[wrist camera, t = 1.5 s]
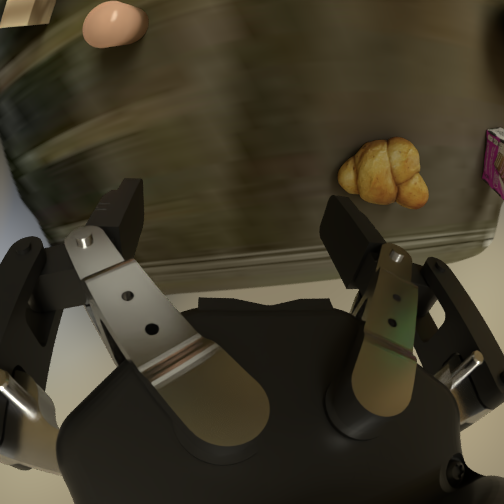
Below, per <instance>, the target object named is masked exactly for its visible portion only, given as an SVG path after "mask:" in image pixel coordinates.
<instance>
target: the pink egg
mask: <svg viewBox="0 0 504 504" xmlns="http://www.w3.org/2000/svg"><path fill="white" fill-rule="evenodd" d="M148 25H149V19H148V16H147V14H146V13H145V11H143V10H142V9H140V8H137V7H134V6H131V5H128V4H125V3H121V2H118V1H108V2H104V3H102V4H100V5H98V6H96V7H95V8H94V9H93V10H92V11H91V12H90V13H89V14H88V15H87V17H86V19H85V21H84V24H83V36H84V38H85V40H86V42H87V43H88V44H90V45H91V46H93V47H96V48H106V47H113V46H121V45H128V44H132V43H134V42H136V41H138V40H139V39H141V38H142V37H143V35H144V34H145V33H146V31H147V29H148Z"/></svg>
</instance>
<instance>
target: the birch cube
mask: <svg viewBox="0 0 504 504" xmlns="http://www.w3.org/2000/svg"><path fill="white" fill-rule="evenodd" d="M55 3H56V0H7V3H6V6H5V10H4V13H3V16H2V20H1V24H0V28H4V27H15V26H29V25H38V24H49V20H50V17H51V14H52V11H53V8H54V6H55Z"/></svg>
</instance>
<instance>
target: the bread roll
mask: <svg viewBox="0 0 504 504" xmlns="http://www.w3.org/2000/svg"><path fill="white" fill-rule="evenodd" d="M419 172H420V164H419V154H418V151H417V150H416V148H415V147H414V146H413V144H412V143H411V142H409V141H408V140H406V139H404V138H402V137H392V138H390V139H389V140H387V141H386V140H374V141H372V142H367V143H365V144H364V145H363V146H362V147H361V148H360V149H359V151H358V152H357V153H356V155H354V156H352V157H351V158H349V159H348V160H347V161H346V162H345V163H344V164H343V165H342V166H341V168H340V170H339V172H338V182H339V184H340V185H341V187H342V188H343V189H345V190H346V191H347V192H348V193H350V194H360V197H361V198H362V199H363V200H365V201H367V202H369V203H374V204H380V205H388V204H390V203H394V202H395V201H396V202H397V203H398V204H400V205H401V206H403V207H406V208H409V209H419V208H421V207H423V206H424V205H425V204H426V202H427V200H428V188H427V186H426V184H425V182H424V181H423V179H422V177H421V176H420V174H419Z"/></svg>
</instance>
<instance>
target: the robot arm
mask: <svg viewBox="0 0 504 504" xmlns="http://www.w3.org/2000/svg"><path fill="white" fill-rule="evenodd" d="M143 222H144V200H143V180H142V179H129V178H125V179H124V180H123V181H122V183H121V185H120V186H119V188H118V190H111V191H109V192H108V193H106V194H105V195H104V196H103V197H102V198H101V200H100V201H99V204H98V205H97V206H96V208H95V210H94V211H93V213H92V215H91V216H90V218H89V220H88V222H87V223H86V225H85V226H83V227H79V228H77V229H75V230H73V231H71V232H70V233H69V234H68V235H67V236H66V238H65V241H64V244H63V245H59V246H53V247H49V248H44V247H43V243H42V241H41V239H40V238H38V237H34V236H31V237H25V238H22V239H20V240H18V241H17V242H16V243H14V244H13V245H12V246H11V247H10V249H9V250H8V252H7V254H6V255H5V257H4V259H3V260H2V262H1V264H0V462H1V463H3V464H6V465H10V466H13V467H15V468H17V469H20V470H30V469H32V468H34V469H37V470H41V471H45V472H48V473H52V474H56V475H60V476H63V478H64V481H65V482H66V485H67V487H68V489H69V491H70V494H71V496H72V498H73V501H74V504H504V478H502V477H498V476H483V475H480V474H478V473H476V472H474V471H472V470H471V469H470V468H468V466H467V465H466V464H465V461H464V458H463V455H462V450H461V441H460V432H461V431H462V430H464V429H466V428H467V427H469V426H470V425H472V424H473V423H475V422H476V421H478V420H479V419H481V418H482V417H484V416H485V415H487V414H488V413H490V412H491V411H492V410H494V409H495V408H496V407H498V406H499V405H500V404H502V403H503V402H504V355H503V353H502V351H501V349H500V347H499V345H498V344H497V342H496V340H495V338H494V336H493V334H492V333H491V331H490V329H489V327H488V326H487V324H486V322H485V321H484V319H483V317H482V316H481V314H480V312H479V311H478V309H477V308H476V306H475V304H474V303H473V301H472V300H471V298H470V297H469V295H468V294H467V292H466V291H465V289H464V288H463V286H462V285H461V284H460V282H459V281H458V279H457V278H456V276H455V275H454V273H453V272H452V271H451V269H450V268H449V267H448V266H447V265H446V264H445V263H444V262H443V261H441V260H439V259H437V258H434V257H429V258H428V259H427V260H426V262H425V264H424V265H423V266H421V265H418V264H415V263H412V258H411V256H410V255H409V254H408V252H406V251H405V250H404V249H403V248H401V247H399V246H397V245H395V244H392V243H386V241H385V240H384V239H383V237H382V236H381V235H380V233H379V232H378V231H377V230H376V229H375V227H374V226H373V224H371V222H370V221H369V219H368V218H367V217H366V216H365V215H364V214H363V213H362V212H360V211H359V210H358V209H357V207H356V206H355V205H354V204H353V202H352V201H351V200H350V199H349V198H348V197H342V196H335V195H332V196H331V197H330V198H329V201H328V203H327V207H326V210H325V213H324V216H323V219H322V222H321V225H320V238H321V240H322V242H323V244H324V245H325V247H326V249H327V251H328V253H329V255H330V257H331V259H332V261H333V263H334V265H335V267H336V269H337V271H338V273H339V275H340V277H341V279H342V281H343V283H344V285H345V287H346V289H359V291H358V293H357V295H356V297H355V300H354V302H353V305H352V308H351V311H350V313H347V312H345V311H342V310H339V309H335V308H333V306H332V304H331V302H330V299H329V298H328V299H298V300H294V301H289V302H285V303H280V304H276V305H262V304H257V303H253V302H248V301H243V300H238V299H234V298H200V297H199V300H198V308H195V309H191V310H187V311H184V312H181V313H180V312H179V311H178V310H177V309H176V308H175V307H174V306H173V305H172V303H171V302H170V301H169V300H168V299H167V298H166V297H165V295H164V294H163V293H162V292H161V291H160V290H159V288H158V287H157V286H156V285H155V284H154V282H153V281H152V280H151V279H150V278H149V276H148V275H147V274H146V273H145V272H144V270H143V269H142V268H141V267H140V265H139V264H138V263H137V262H136V261H135V260H134V259H133V258H134V255H135V251H136V248H137V244H138V241H139V238H140V234H141V231H142V228H143ZM437 299H438V301H439V302H440V304H441V306H442V307H443V309H444V311H445V321H444V323H443V324H442V326H441V327H440V328H439V329H438V328H437V326H436V324H435V322H434V321H433V319H432V317H431V315H430V313H429V310H430V309H431V307H432V306H433V305H434V303H435V302H436V300H437ZM80 305H84V307H85V309H86V311H87V313H88V315H89V317H90V319H91V321H92V323H93V325H94V326H95V328H96V330H97V332H98V333H99V335H100V337H101V339H102V341H103V342H104V344H105V346H106V348H107V350H108V352H109V354H110V356H111V358H112V360H113V361H114V363H115V365H116V366H117V368H116V369H115V370H114V371H113V372H112V373H111V374H110V375H109V376H108V377H107V378H105V379H104V381H102V383H101V384H99V385H98V386H97V387H96V388H95V389H94V390H93V391H92V392H91V393H90V394H89V395H88V396H87V397H86V398H85V399H84V400H83V401H82V402H81V403H80V404H79V405H78V406H77V407H76V408H75V409H74V410H73V411H72V412H71V413H70V414H69V415H68V416H67V418H66V419H65V420H64V422H63V423H62V425H61V427H60V429H59V427H58V425H57V423H56V416H55V407H54V403H53V401H52V399H51V398H50V397H49V396H48V395H47V394H46V392H45V388H46V382H47V376H48V371H49V366H50V361H51V356H52V352H53V347H54V343H55V339H56V335H57V331H58V327H59V324H60V320H61V316H62V313H63V309H64V308H70V307H75V306H80ZM413 346H414V348H415V350H416V352H417V355H418V357H419V359H420V361H421V363H422V366H423V367H421V366H420V365H419V364H417V359H416V357H415V356H414V355H413Z"/></svg>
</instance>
